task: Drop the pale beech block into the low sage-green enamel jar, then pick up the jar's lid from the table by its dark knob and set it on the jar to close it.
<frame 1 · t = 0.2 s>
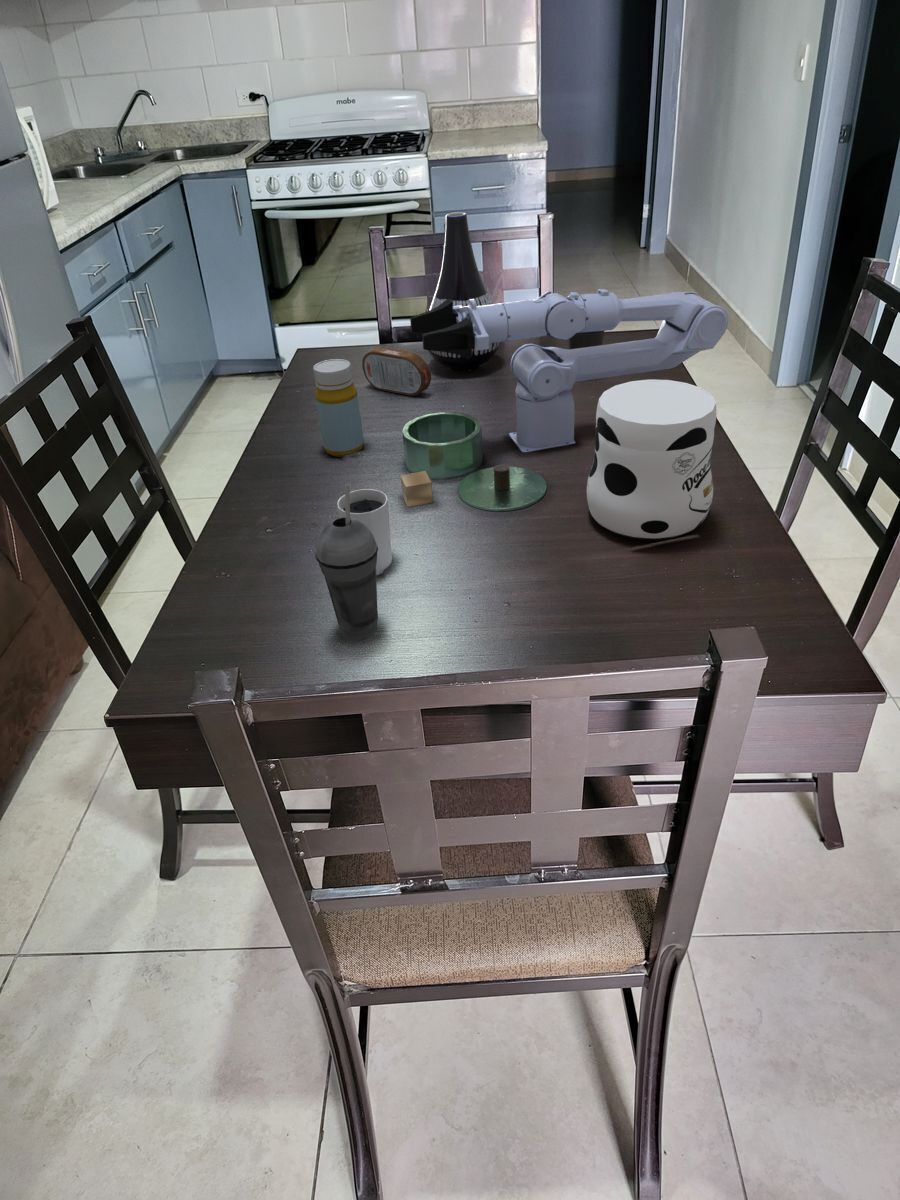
hand: (416, 333, 127), 22 cm above the table, tool horizontal, fingers open, 7 cm apart
milk container: (646, 520, 120), on the table
lid: (502, 489, 129), point 1 cm above the table
vase: (464, 367, 174), on the table
beverage cup: (359, 631, 103), on the table
tin: (397, 392, 165), on the table
white cylindrical cup: (371, 565, 115), on the table
bottle: (344, 450, 146), on the table
block: (418, 501, 129), on the table
jar: (444, 463, 138), on the table
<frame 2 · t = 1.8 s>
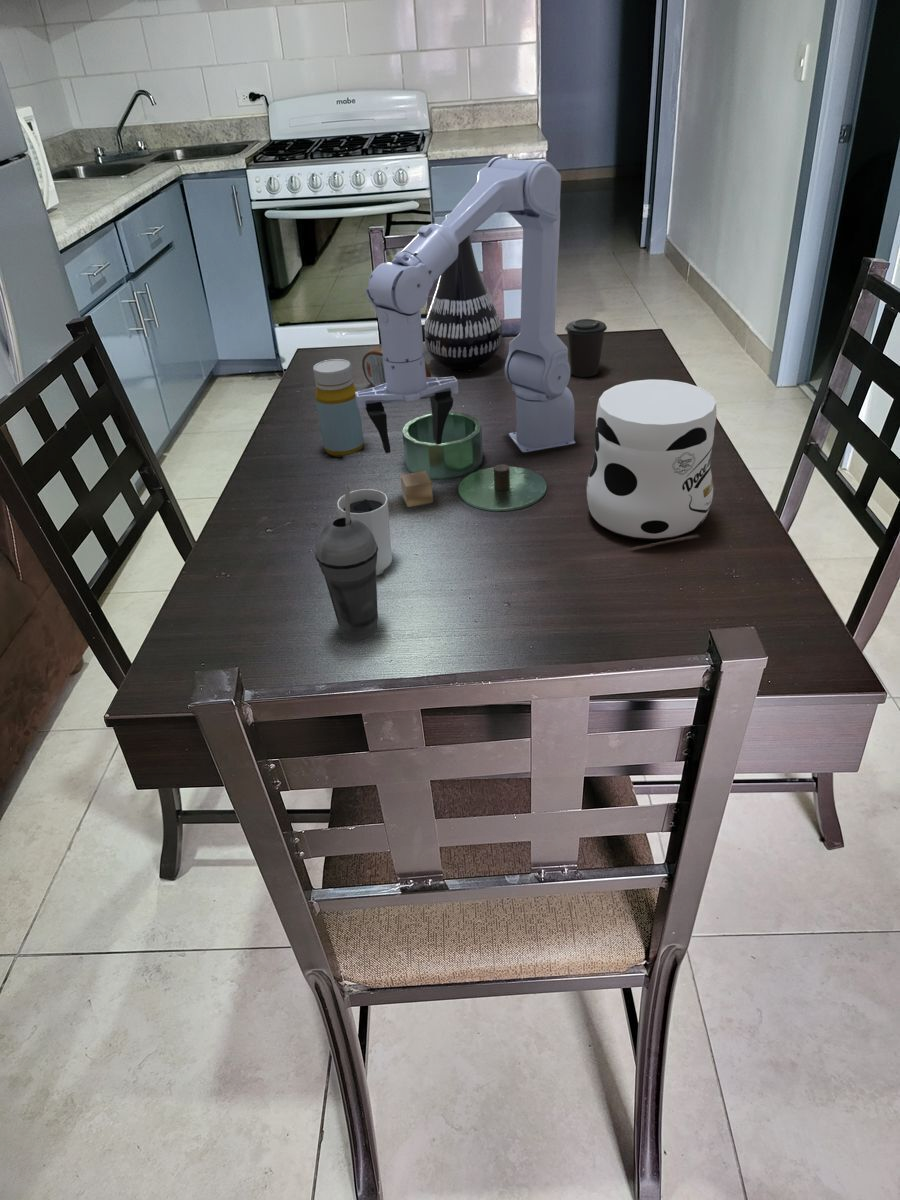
hand: (412, 445, 123), 9 cm above the table, tool pointing down, fingers open, 7 cm apart
nothing on the table moved.
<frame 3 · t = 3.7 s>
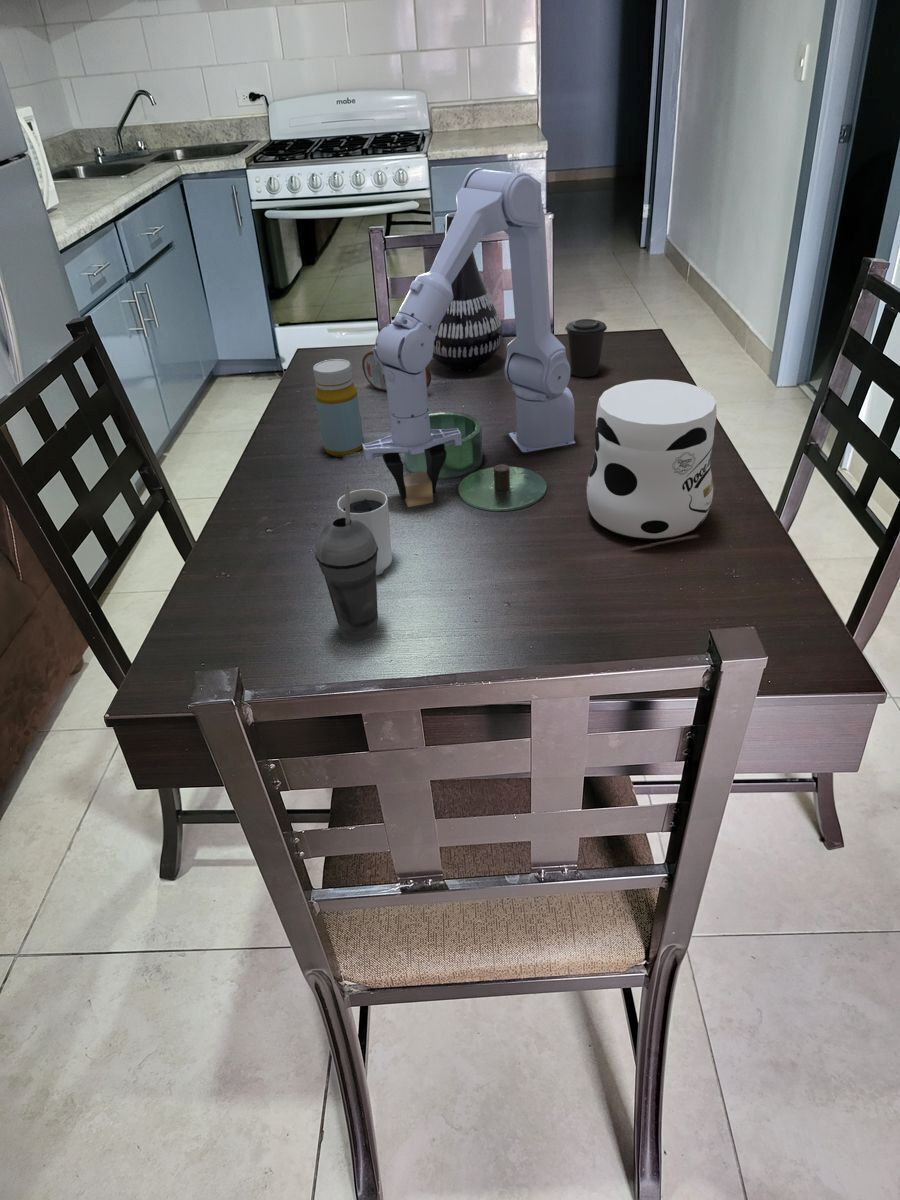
hand: (417, 493, 128), 1 cm above the table, tool pointing down, fingers closed on block, 4 cm apart
block: (418, 501, 129), on the table, touching gripper
everything else where it was.
when the fingers open (2 cm above the table, at t = 8.9 s): block stays where it is, resting on jar.
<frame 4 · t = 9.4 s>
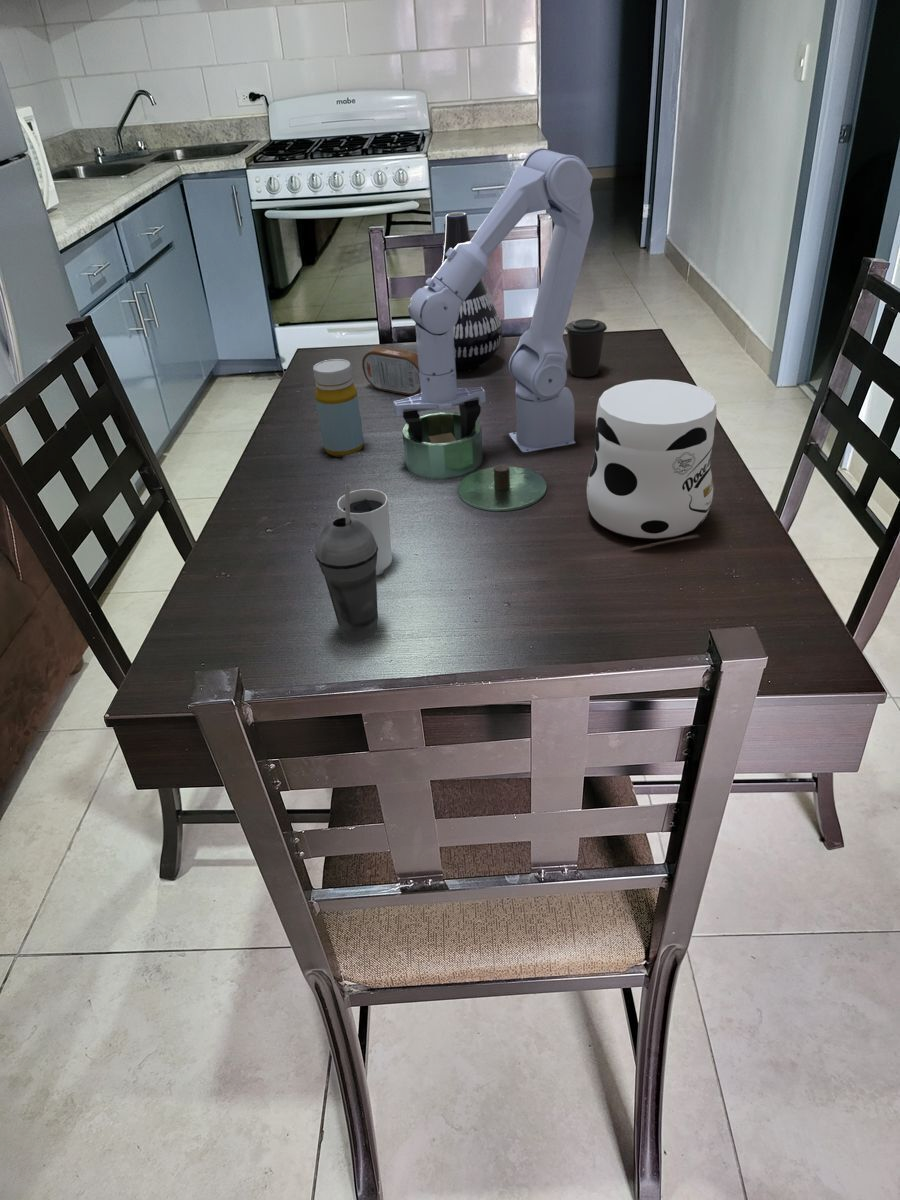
hand: (443, 449, 137), 3 cm above the table, tool pointing down, fingers open, 7 cm apart
block: (444, 461, 138), resting on jar
everything else where it was.
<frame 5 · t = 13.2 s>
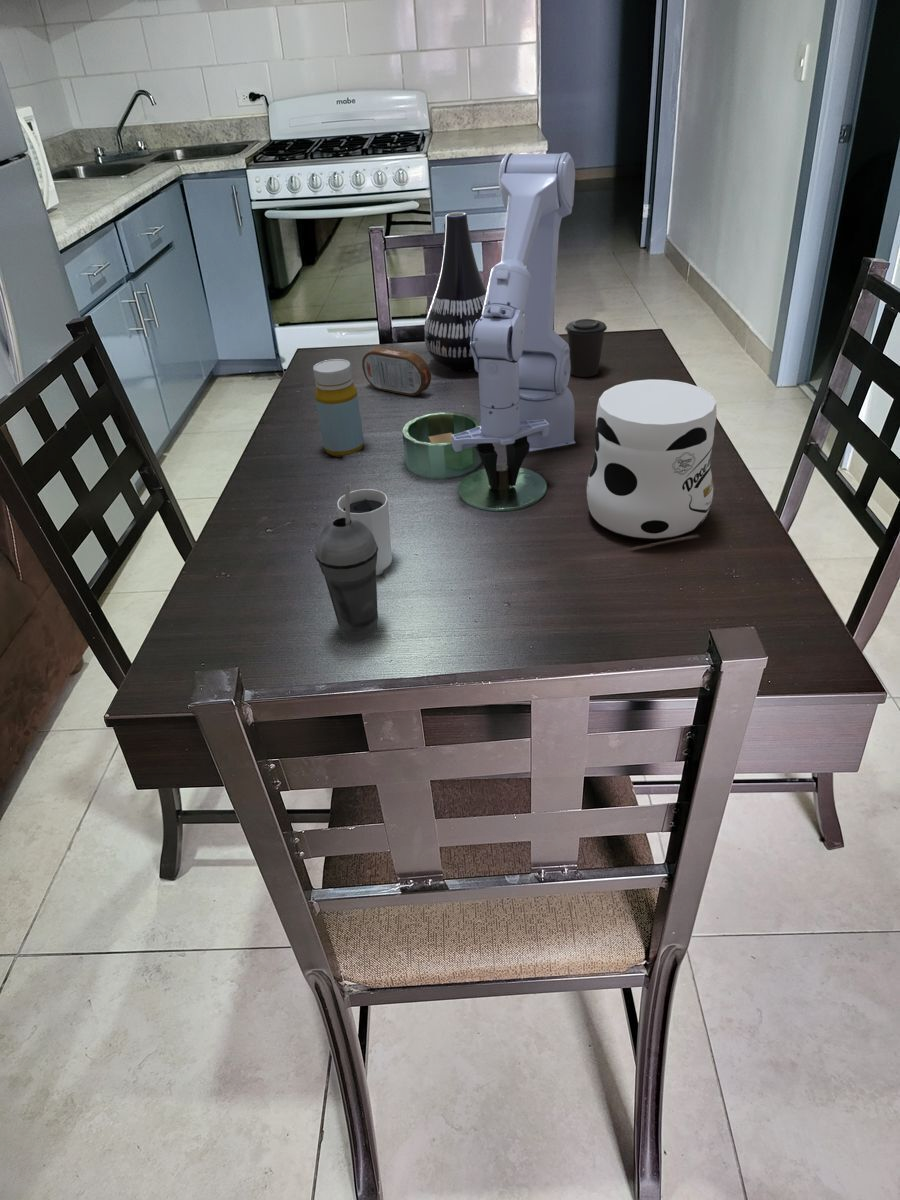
hand: (502, 484, 128), 1 cm above the table, tool pointing down, fingers closed on lid, 2 cm apart
lid: (502, 489, 129), point 1 cm above the table, touching gripper
everything else where it was.
when the fingers open (7 cm above the table, at t = 17.1 s): lid stays where it is, resting on jar.
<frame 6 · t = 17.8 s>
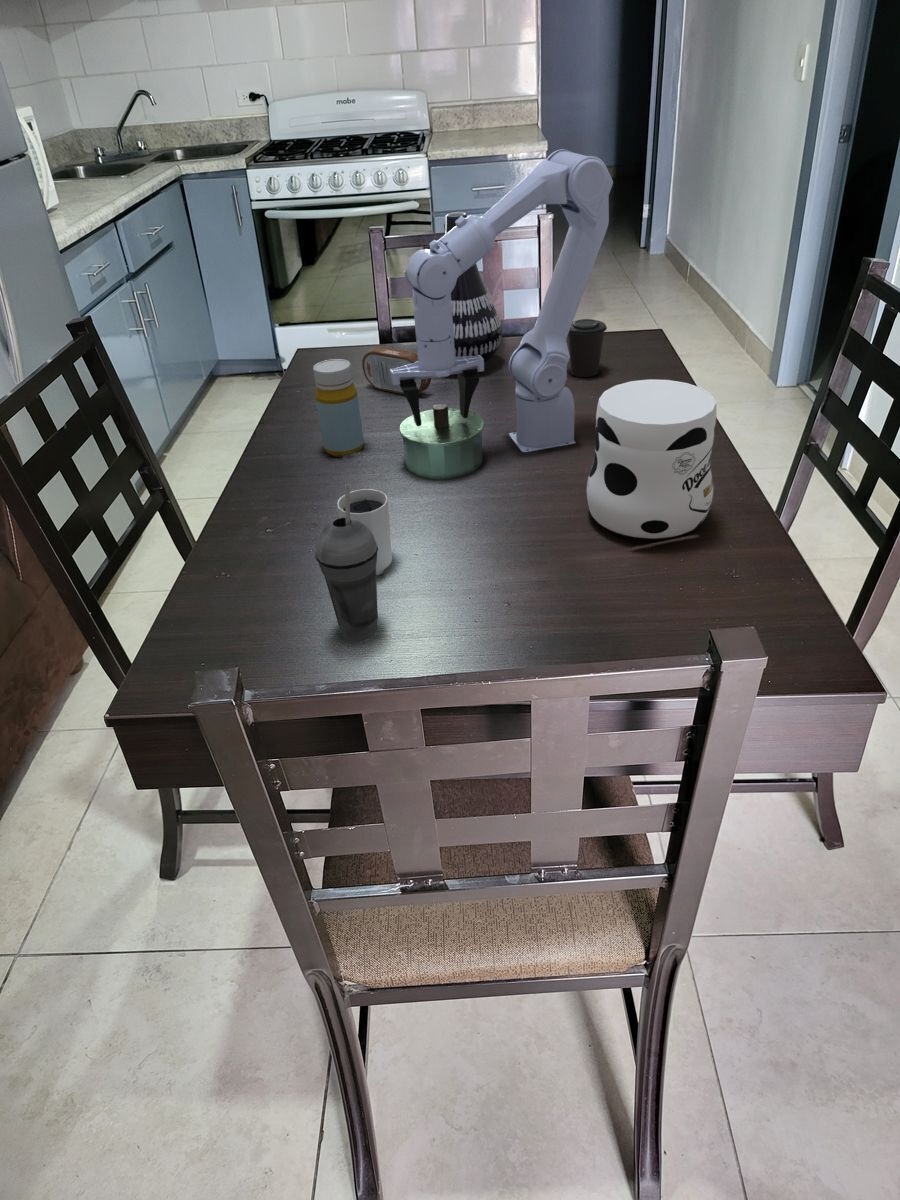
hand: (441, 419, 134), 8 cm above the table, tool pointing down, fingers open, 7 cm apart
lid: (441, 428, 135), point 6 cm above the table, touching jar
everything else where it was.
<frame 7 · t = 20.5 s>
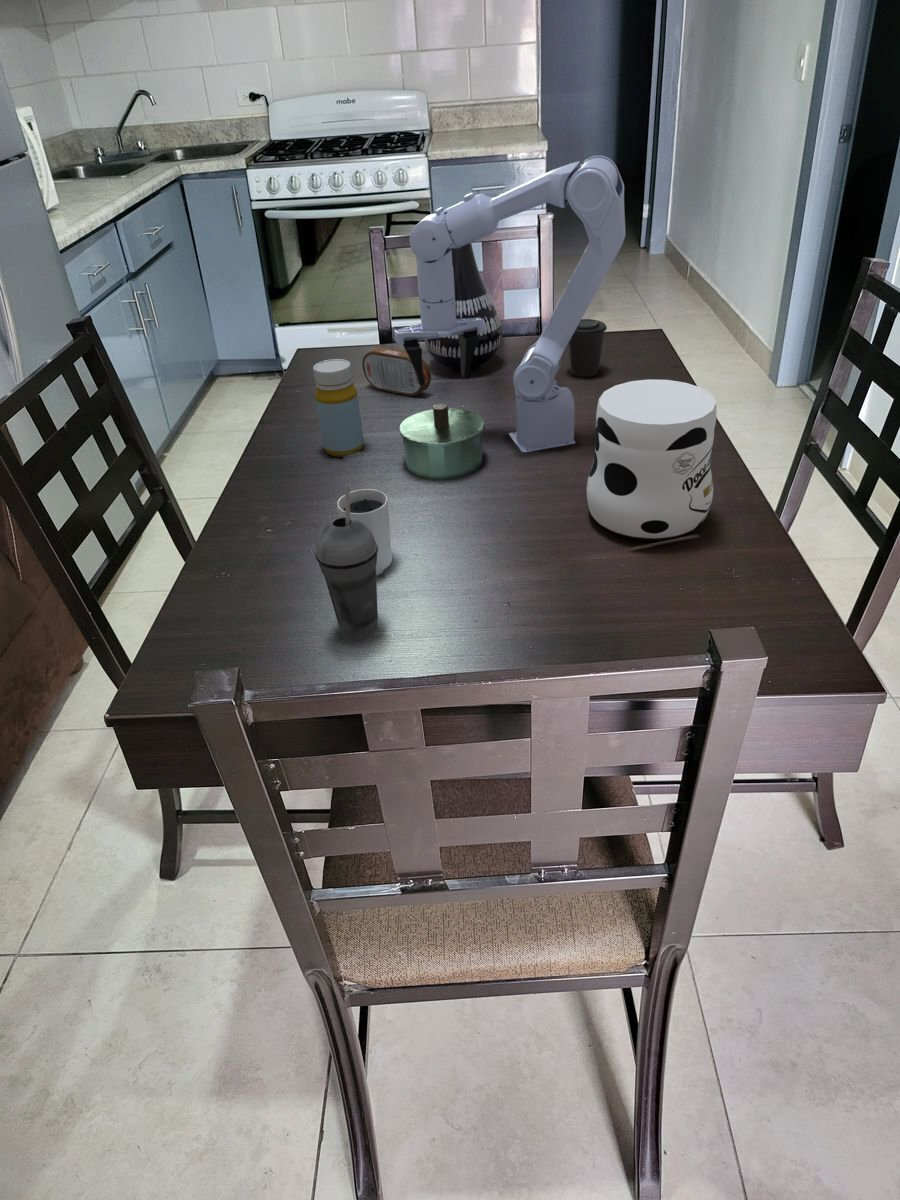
hand: (442, 379, 141), 10 cm above the table, tool pointing down, fingers open, 7 cm apart
nothing on the table moved.
at the end: block inside the target area in the jar (0.0 cm from its centre), point 0.4 cm above the jar's base; lid 0.0 cm off-centre on the jar, point 6.4 cm above the jar's base; lid tilted 0° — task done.
